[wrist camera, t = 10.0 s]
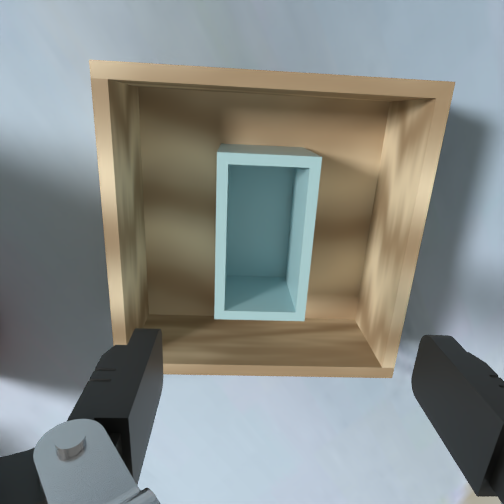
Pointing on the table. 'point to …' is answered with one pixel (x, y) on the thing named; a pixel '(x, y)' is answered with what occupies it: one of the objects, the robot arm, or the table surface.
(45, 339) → the table surface
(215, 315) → the small crate
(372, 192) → the large crate
